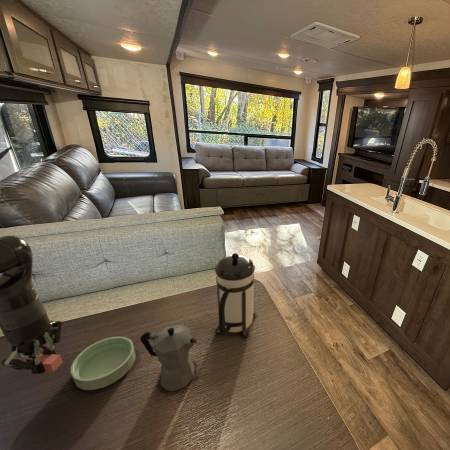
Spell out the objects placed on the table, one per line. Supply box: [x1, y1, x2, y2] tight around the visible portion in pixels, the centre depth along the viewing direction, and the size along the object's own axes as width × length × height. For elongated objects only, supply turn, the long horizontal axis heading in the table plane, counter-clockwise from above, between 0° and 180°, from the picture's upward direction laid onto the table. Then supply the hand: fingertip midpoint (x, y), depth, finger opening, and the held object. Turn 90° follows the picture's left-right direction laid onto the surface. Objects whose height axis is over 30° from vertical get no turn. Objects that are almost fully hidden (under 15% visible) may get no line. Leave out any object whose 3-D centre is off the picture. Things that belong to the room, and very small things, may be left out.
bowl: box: [70, 336, 137, 391], centre depth 71 cm, size 14×14×4 cm
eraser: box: [28, 353, 64, 373], centre depth 65 cm, size 6×3×3 cm, turn 92°
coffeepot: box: [140, 324, 198, 392], centre depth 68 cm, size 15×9×18 cm, turn 86°
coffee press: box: [214, 252, 256, 338], centre depth 84 cm, size 17×16×30 cm
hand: (45, 366), depth 65 cm, fingers closed on eraser, 2 cm apart
